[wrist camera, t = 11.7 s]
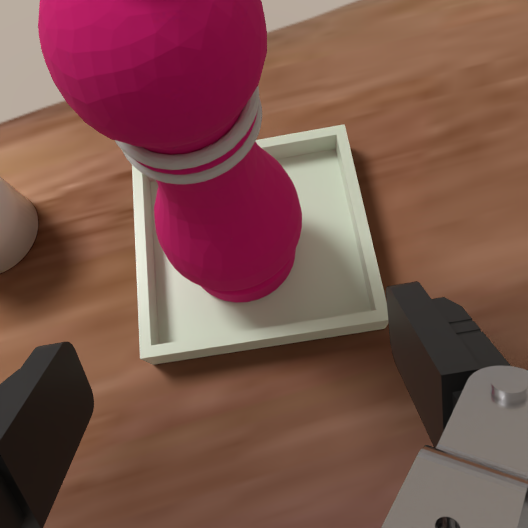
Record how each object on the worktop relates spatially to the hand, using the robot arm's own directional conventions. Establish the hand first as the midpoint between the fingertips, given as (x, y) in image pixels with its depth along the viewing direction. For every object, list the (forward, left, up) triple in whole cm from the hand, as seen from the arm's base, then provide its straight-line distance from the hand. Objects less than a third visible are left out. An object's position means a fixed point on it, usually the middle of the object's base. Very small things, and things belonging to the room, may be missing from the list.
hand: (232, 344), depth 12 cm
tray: (0, +9, -14) cm, 17 cm away
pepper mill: (-1, +8, -14) cm, 16 cm away
